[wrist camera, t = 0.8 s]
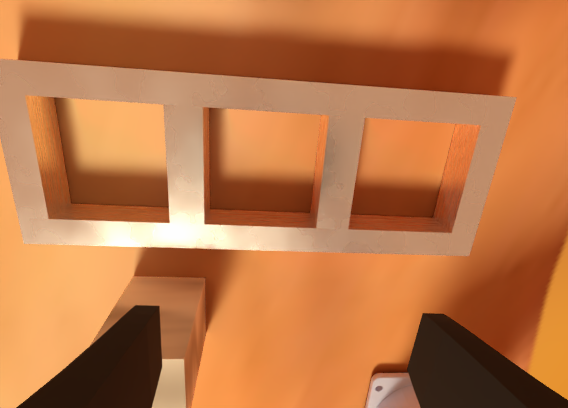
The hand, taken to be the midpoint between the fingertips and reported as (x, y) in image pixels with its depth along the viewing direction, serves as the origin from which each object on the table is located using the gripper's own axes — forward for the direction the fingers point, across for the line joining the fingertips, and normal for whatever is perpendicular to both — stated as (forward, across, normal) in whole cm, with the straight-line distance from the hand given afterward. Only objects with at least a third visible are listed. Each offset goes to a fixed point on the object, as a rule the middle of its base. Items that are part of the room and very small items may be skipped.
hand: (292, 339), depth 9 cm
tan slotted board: (+10, +1, -3) cm, 10 cm away
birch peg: (+10, +6, +6) cm, 13 cm away
